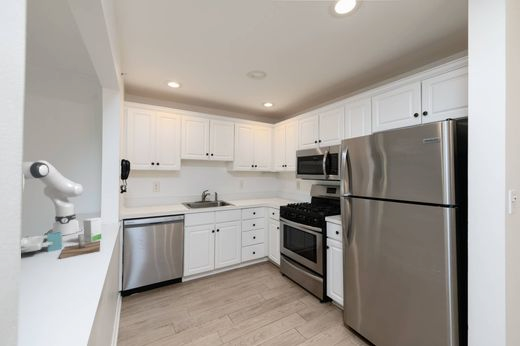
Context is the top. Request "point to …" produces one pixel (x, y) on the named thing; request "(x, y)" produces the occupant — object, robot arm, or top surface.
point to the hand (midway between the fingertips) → (54, 240)
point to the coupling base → (80, 248)
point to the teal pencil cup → (55, 241)
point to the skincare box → (92, 230)
